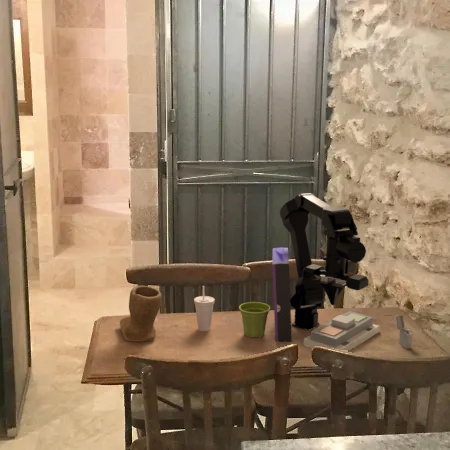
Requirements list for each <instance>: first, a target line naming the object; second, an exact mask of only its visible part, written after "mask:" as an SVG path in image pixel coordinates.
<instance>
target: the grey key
mask: <svg viewBox="0 0 450 450" xmlns="http://www.w3.org/2000/svg"><path fill="white" fill-rule="evenodd" d="M331 321H332V322H331V325H332V326H336V327H339V328H343V329H346V330H347V329H349V328H350V327H352V326H354V325H355V318H351V317H347V316H343V314H339V315H337V316H335V317H332V318H331Z"/></svg>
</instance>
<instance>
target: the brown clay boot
mask: <svg viewBox="0 0 450 450" xmlns="http://www.w3.org/2000/svg"><path fill="white" fill-rule="evenodd" d="M162 295H163V294H162V293H161V291H160V290H158V289H157V288H155V287H152V286H148V285H138V286H134V287H133V288H132V289H131V291H130V292H129V299H128V310H129V311H128V312H129V316H126V317H123V318H122V319H120V321H119V327H120V330H121V334H122V336H123V338H124V339H125V340H126V341H128V342H131V343H132V342H133V343H142V342H143V343H144V342H149V341H153V340H155V338H156V336H157V332H156V328H155V326H154V325H155V321H156V317H157V315H158V314H159V311H160V308H161V306H162V305H161V304H162Z"/></svg>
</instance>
